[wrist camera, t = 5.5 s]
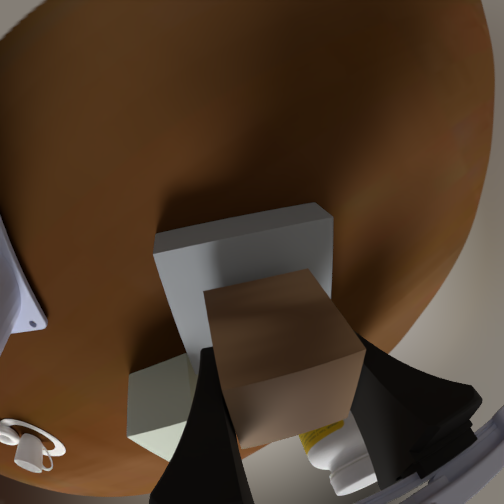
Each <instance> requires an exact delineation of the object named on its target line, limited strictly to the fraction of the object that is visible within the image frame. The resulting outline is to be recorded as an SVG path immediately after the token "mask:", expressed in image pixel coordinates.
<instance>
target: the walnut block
mask: <svg viewBox="0 0 504 504" xmlns="http://www.w3.org/2000/svg"><path fill="white" fill-rule="evenodd" d="M203 294H204V300H205V306H206V311H207V317H208V323H209V328H210V334H211V339H212V344H213V349H214V355H215V360H216V365H217V370H218V375H219V379H220V384H221V389H222V393H223V396H224V399H225V402H226V405H227V408H228V411H229V414H230V417H231V420H232V423H233V426H234V428H235V431H236V434H237V437H238V440H239V443H240V445H241V448H242V449H246V448H250V447H255V446H259V445H263V444H267V443H271V442H275V441H278V440H282V439H285V438H289V437H292V436H296V435H299V434H302V433H306V432H309V431H312V430H315V429H318V428H321V427H324V426H327V425H330V424H332V423H335V422H338V421H341V420H343V419H346V418H348V415H349V411H350V408H351V405H352V402H353V398H354V395H355V391H356V388H357V384H358V380H359V377H360V373H361V369H362V365H363V361H364V357H365V353H366V348H365V347H364V345H363V344H362V342H361V341H360V339H359V338H358V337H357V335H356V334H355V332H354V331H353V329H352V328H351V327H350V325H349V324H348V322H347V321H346V320H345V318H344V317H343V315H342V314H341V313H340V311H339V310H338V309H337V307H336V306H335V304H334V303H333V302H332V300H331V299H330V297H329V296H328V295H327V293H326V292H325V291H324V289H323V288H322V287H321V285H320V284H319V282H318V281H317V280H316V278H315V277H314V276H313V274H312V273H311V272H310V270H309V269H308V268H307V269H303V270H298V271H294V272H289V273H285V274H280V275H276V276H271V277H267V278H262V279H258V280H253V281H248V282H244V283H239V284H234V285H230V286H225V287H220V288H215V289H210V290H206V291H203Z"/></svg>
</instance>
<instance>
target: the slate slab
mask: <svg viewBox="0 0 504 504" xmlns="http://www.w3.org/2000/svg"><path fill="white" fill-rule="evenodd" d="M153 256H154V259H155V262H156V265H157V269H158V272H159V275H160V278H161V281H162V284H163V287H164V290H165V293H166V296H167V299H168V302H169V305H170V308H171V311H172V314H173V317H174V319H175V322H176V325H177V328H178V331H179V333H180V336H181V339H182V341H183V344H184V347H185V349H186V352H187V354H188V357H189V359H190V362H191V364H192V367H193V369H194V372H195V374H196V375H197V374H198V373H199V366H200V351H201V349H202V348H207V347H212V346H213V344H212V339H211V334H210V328H209V323H208V317H207V311H206V306H205V300H204V294H203V291H206V290H210V289H215V288H220V287H225V286H230V285H234V284H239V283H244V282H248V281H253V280H258V279H262V278H267V277H271V276H276V275H280V274H285V273H289V272H294V271H298V270H303V269H307V268H308V269H309V270H310V272H311V273H312V274H313V276H314V277H315V278H316V280H317V281H318V282H319V284H320V285H321V287H322V288H323V289H324V291H325V292H326V293H327V295H328V296H329V297H330V299H331V285H332V261H333V216H331V215H330V214H329V213H328V212H327V211H325V210H324V209H323V208H322V207H320V206H319V205H318V204H317V203H315V202H313V203H307V204H301V205H296V206H290V207H285V208H279V209H274V210H268V211H263V212H258V213H253V214H247V215H242V216H237V217H232V218H227V219H222V220H217V221H212V222H207V223H203V224H198V225H193V226H188V227H184V228H179V229H174V230H170V231H165V232H161V233H156V235H155V242H154V251H153Z"/></svg>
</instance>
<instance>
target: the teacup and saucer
mask: <svg viewBox="0 0 504 504" xmlns="http://www.w3.org/2000/svg"><path fill="white" fill-rule="evenodd" d="M11 425H21V426H25V427H28V428H31V429H33V430H35V431H37V432H39V433H41V434H43V435H45V436H46V437H48V438H49V439H50V440H51V441H52V442H53V443H54V444H55V449H53V450H47V449H46V448H45V447H44V446H43V444H42V443H41V440H40V439H39V438H37V437H36V436H34V435H31V434H28V433H25V434H23V435H22V437H21V438H19V435H18V434H17V432H16V431H14V430H13V429H12V428H10V426H11ZM0 442H2V443H5V444H8V445H16V444H18V447H17V451H16V455H15V459H14V461H15V463H16V464H18V465H19V466H21V467H22V468H24V469H27V470H29V471H32V472H36V473H41V472H42V469H44V470H46V471H49V470H51V469H52V468H53V461H52V458H51V456H61V455H63V454H64V453H65V452H66V449H65V447H64V445H63V444H62V443H61V442H60V441H59V440H58V439H56V438H55V437H54V436H52V435H50V434H49V433H47V432H45V431H44V430H42V429H40V428H38V427H35V426H33V425H31V424H28V423H25V422H22V421H19V420H15V419H3V420H1V421H0ZM43 449H44V450H43ZM43 455H48V456H49V458H50V461H51V467H50V468H45V467H44V466H43V464H42V460H43Z"/></svg>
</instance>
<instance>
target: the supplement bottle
mask: <svg viewBox="0 0 504 504" xmlns="http://www.w3.org/2000/svg"><path fill="white" fill-rule="evenodd" d="M299 437H300V440H301V442H302V445H303V447H304V449H305V452H306V454H307V457H308V459H309V461H310V462H311V464H312V465H313V466H315V467H316V468H319V469H324V470H326V469H329V470H330V471H331V475H330V479H331V480H330V482H331V484H332V486H333V488H334V490H335V492H336V494H337V495H339V496H340V495H345V494H349V493H352V492H355V491H357V490H360V489H362V488H364V487H366V486H369V485H370V484H372V483H374V482H376V481H377V478H376V475H375V471H374V468H373V465H372V462H371V459H370V456H369V454H368V451H367V448H366V446H365V443H364V440H363V438H362V435H361V433H360V431H359V428H358V426H357V424H356V421H355V419H354V417H353V415H352V413H351V411H349V415H348V418H346V419H343V420H341V421H338V422H335V423H332V424H330V425H327V426H324V427H321V428H318V429H315V430H312V431H309V432H306V433H302V434H299Z"/></svg>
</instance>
